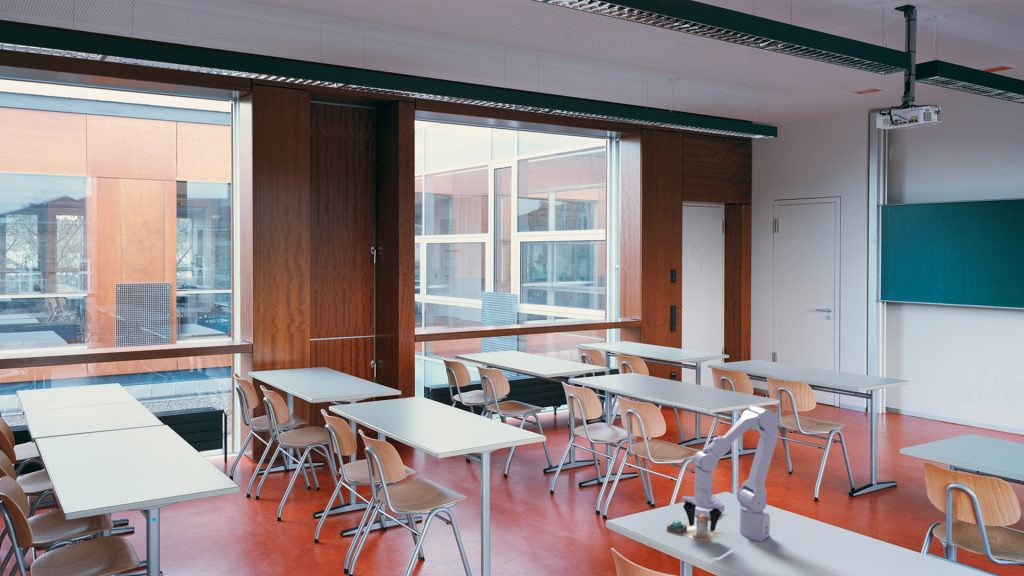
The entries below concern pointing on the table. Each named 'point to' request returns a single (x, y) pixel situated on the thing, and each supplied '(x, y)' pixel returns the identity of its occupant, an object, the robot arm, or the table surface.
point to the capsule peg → (702, 526)
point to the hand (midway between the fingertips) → (702, 527)
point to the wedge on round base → (706, 510)
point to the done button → (677, 524)
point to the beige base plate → (692, 532)
